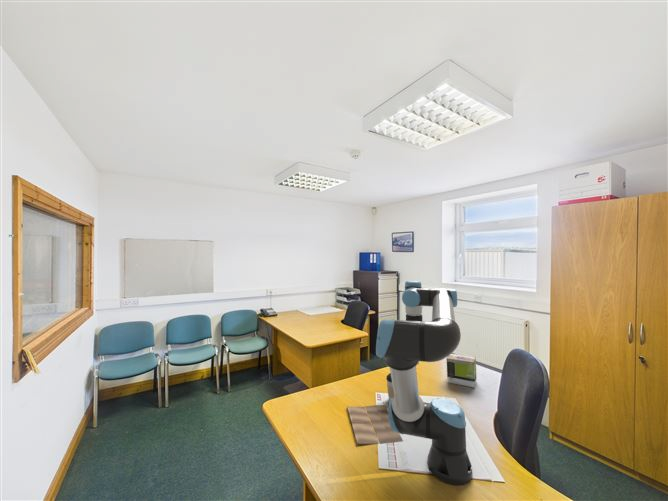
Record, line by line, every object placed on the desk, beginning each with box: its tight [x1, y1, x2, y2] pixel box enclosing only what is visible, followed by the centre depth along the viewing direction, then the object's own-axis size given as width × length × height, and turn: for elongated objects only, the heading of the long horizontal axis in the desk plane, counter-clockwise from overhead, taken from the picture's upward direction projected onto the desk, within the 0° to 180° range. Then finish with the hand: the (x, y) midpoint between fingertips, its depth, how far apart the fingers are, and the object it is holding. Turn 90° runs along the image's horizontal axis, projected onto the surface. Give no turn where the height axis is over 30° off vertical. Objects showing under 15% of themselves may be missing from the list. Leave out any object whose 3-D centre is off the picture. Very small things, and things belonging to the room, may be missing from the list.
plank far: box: [346, 405, 372, 426], centre depth 137 cm, size 14×9×1 cm, turn 6°
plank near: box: [351, 423, 380, 446], centre depth 123 cm, size 14×9×1 cm, turn 6°
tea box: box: [446, 353, 478, 389], centre depth 170 cm, size 15×10×15 cm, turn 58°
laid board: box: [364, 404, 404, 445], centre depth 131 cm, size 28×10×1 cm, turn 6°
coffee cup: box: [386, 372, 395, 402], centre depth 149 cm, size 9×9×15 cm
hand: (415, 363), depth 134 cm, fingers closed
